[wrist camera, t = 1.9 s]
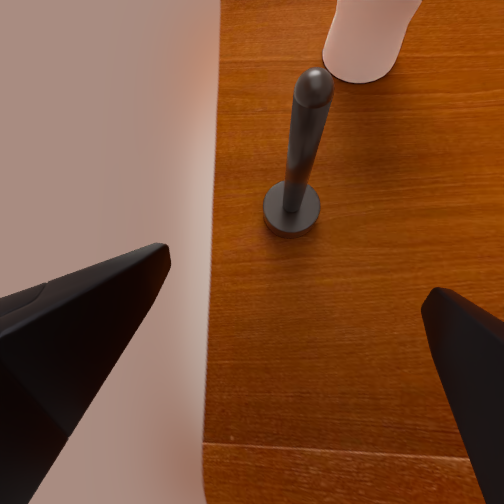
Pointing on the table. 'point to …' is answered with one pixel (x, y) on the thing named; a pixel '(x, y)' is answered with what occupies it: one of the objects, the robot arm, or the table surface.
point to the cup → (366, 37)
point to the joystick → (300, 158)
